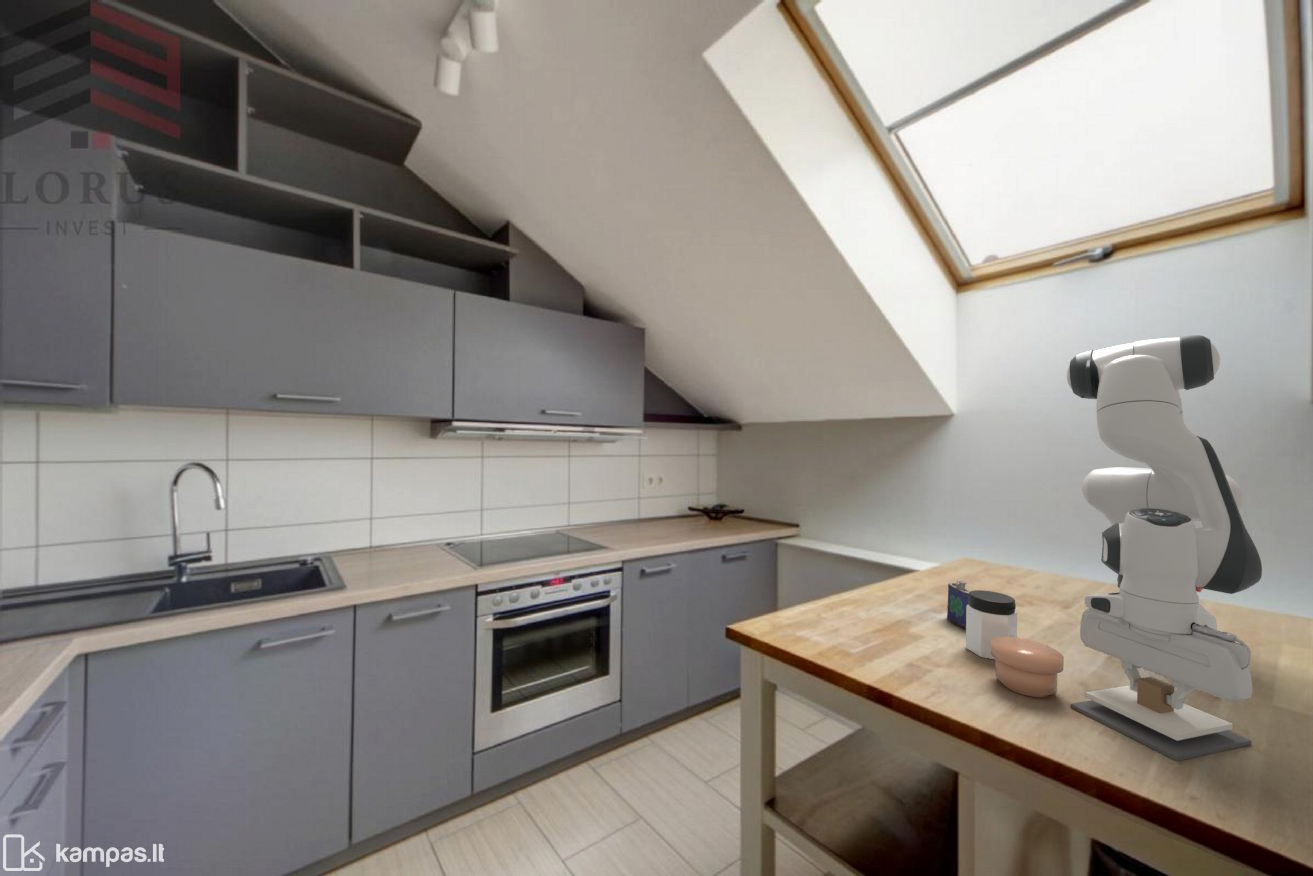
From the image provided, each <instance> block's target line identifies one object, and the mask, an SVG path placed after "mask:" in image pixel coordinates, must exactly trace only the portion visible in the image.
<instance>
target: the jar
mask: <svg viewBox="0 0 1313 876" xmlns="http://www.w3.org/2000/svg"><path fill="white" fill-rule="evenodd" d="M970 591H971V592H969V604H968V605H967V606H966V630H965V648H966V650H969V651H970V652H972V653H974V654H975V655H977V656H978V657H980V658H983V659H987V658H989V659H988V660H993V659H994V661H996V659H995V658H994V657H993V656H992V655H991V640H992V639H994V638H997V637H1014V638H1018V612H1017V611H1016V606H1017V605H1016V600H1015V598H1013V597H1012V596H1010V595H1008V594H1004V593H1002V592H997V591H991V590H983V589H982V590H975V589H974V590H970Z"/></svg>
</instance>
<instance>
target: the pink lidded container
mask: <svg viewBox="0 0 1313 876" xmlns="http://www.w3.org/2000/svg"><path fill="white" fill-rule="evenodd" d="M991 655H992V656H993V657H994V658H995V659H996V660H995V664H994V665H995V669H994V670H995V671H994V672H995V673H994V674H995V677H996V678H997V680H998V681H999V682H1001V684H1002V685H1003V686H1004V687H1006V688H1007V689H1009V690H1011V691H1012V692H1015V693H1018V694H1020V695H1024V696H1026V697H1032V698H1047V697H1050V695H1055V694H1056V693H1057V691H1058V674H1061V673H1062V672H1064V660H1065V658H1064V655H1063V654H1062V653H1061V652H1060V651H1059V650H1057V649H1056V648H1053V647H1052V646H1048V645H1046V644H1043V643H1040V642H1037V641H1034V640H1029V639H1025V638H1020V637H1017V638H1014V637H997V638H994V639H992V640H991Z"/></svg>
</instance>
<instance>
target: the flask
mask: <svg viewBox="0 0 1313 876" xmlns="http://www.w3.org/2000/svg"><path fill="white" fill-rule="evenodd" d="M966 585H967V582H966V581H962V580H956V582H948V584H947V587H948V589H947V607H946V608H947V609H946V610H947V611H946V612H947V614H946V615H947V616H946V619H947V621H949V623H952V624H953V625H955V626H957V627H959V628H961V629H963V630H964V631H966V606H967V605H968V604H969V592H971V591H972V590H970V589H967V588H966Z"/></svg>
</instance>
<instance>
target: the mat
mask: <svg viewBox="0 0 1313 876" xmlns="http://www.w3.org/2000/svg"><path fill="white" fill-rule="evenodd" d="M1069 708H1071V709H1074V710H1075V711H1076V712H1079V713H1080V714H1082V715H1084V716H1086V717H1089V718H1091V719H1093V720H1095V721H1097V722H1098V723H1101V724H1103V725H1105V726H1106V727H1109V728H1110V729H1112V730H1114V731H1117V732H1118V733H1120V734H1123V735H1125V736H1127V737H1129V738H1130V739H1131V740H1135V741H1137V742H1138V743H1140V744H1142V745H1144V746H1147V747H1148V748H1151V749H1152V750H1154V751H1156V752H1158V753H1159V754H1162V755H1164V756H1166V757H1168V758H1169V759H1172V760H1174V761H1177V762H1178V761H1182V760H1187V759H1191V758H1196V757H1201V756H1205V755H1209V754H1215V753H1218V752H1224V751H1228V750H1233V749H1237V748H1240V747H1245V746H1250V745H1252V740H1251V739H1249V738H1248V737H1245V736H1242V735H1239V734H1237V733H1235V732H1232V731H1230V730H1226V731H1221V732H1217V733H1212V734H1207V735H1202V736H1197V737H1192V738H1188V739H1183V740H1178V741H1177V740H1175V739H1173V738H1170V737H1168V736H1166V735H1164V734H1162V733H1160V732H1158V731H1156V730H1154V729H1152V728H1149V727H1147V726H1145V725H1143V724H1141V723H1139V722H1137V721H1135V720H1133V719H1131V718H1128V717H1126V716H1124V715H1122V714H1120V713H1118V712H1116V711H1114V710H1112V709H1110V708H1107V707H1105V706H1103V705H1101V704H1099V703H1097V702H1095V701H1093V700H1091V699H1089V700H1085V701H1079V702H1073V703H1070V707H1069Z"/></svg>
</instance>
